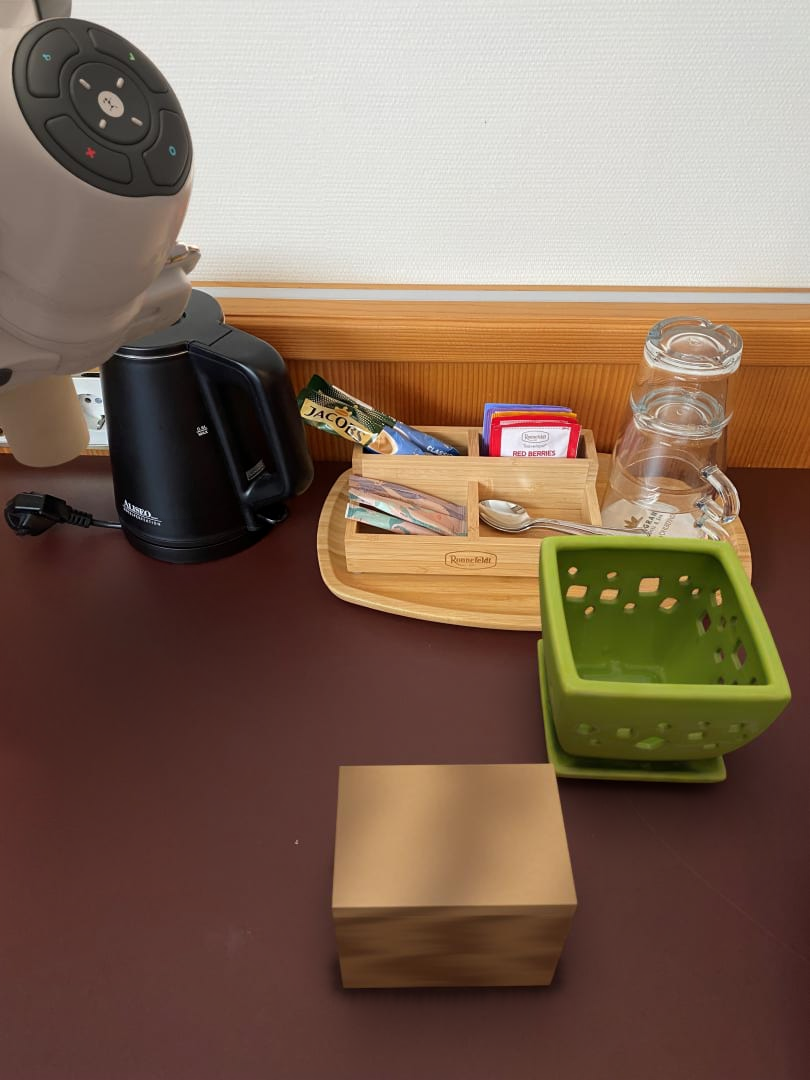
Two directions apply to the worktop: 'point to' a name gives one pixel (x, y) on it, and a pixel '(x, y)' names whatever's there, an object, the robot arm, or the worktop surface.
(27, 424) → the candle
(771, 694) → the flower pot
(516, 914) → the wooden crate-shaped block
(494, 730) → the worktop surface
